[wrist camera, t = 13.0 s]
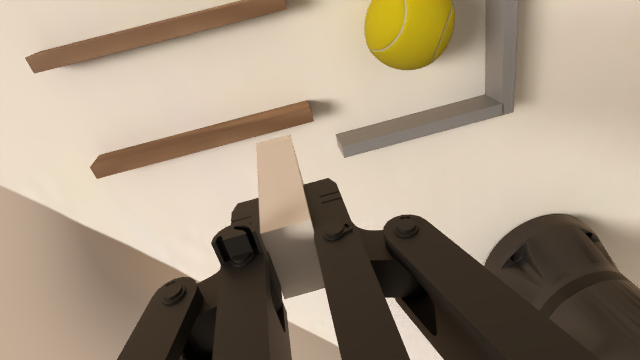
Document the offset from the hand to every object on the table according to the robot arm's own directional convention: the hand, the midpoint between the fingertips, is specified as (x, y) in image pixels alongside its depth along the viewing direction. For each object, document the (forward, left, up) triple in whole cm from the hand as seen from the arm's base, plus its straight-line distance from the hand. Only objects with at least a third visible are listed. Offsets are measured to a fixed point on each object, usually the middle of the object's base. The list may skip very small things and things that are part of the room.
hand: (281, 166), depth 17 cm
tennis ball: (+1, -12, -20) cm, 24 cm away
